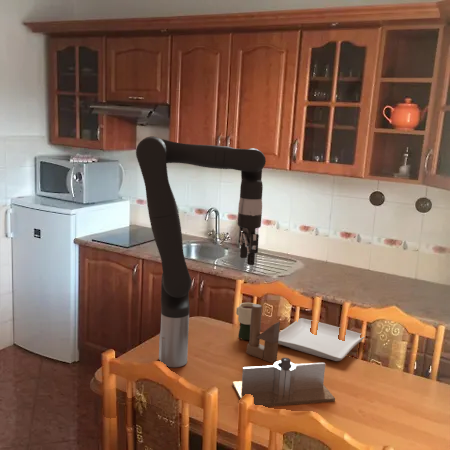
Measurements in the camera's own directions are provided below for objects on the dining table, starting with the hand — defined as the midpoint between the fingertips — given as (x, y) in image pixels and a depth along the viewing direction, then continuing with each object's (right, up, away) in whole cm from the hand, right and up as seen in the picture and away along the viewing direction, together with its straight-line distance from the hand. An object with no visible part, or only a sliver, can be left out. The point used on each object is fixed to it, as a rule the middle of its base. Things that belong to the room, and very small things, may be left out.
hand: (246, 261), depth 172 cm
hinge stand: (+11, -39, -10) cm, 42 cm away
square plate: (+28, -34, +28) cm, 52 cm away
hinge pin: (+11, -39, -11) cm, 41 cm away
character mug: (+1, -31, +29) cm, 43 cm away
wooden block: (+6, -35, +14) cm, 38 cm away
